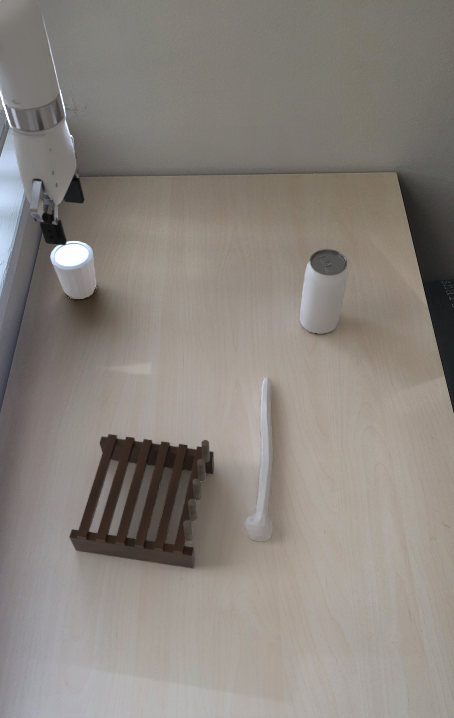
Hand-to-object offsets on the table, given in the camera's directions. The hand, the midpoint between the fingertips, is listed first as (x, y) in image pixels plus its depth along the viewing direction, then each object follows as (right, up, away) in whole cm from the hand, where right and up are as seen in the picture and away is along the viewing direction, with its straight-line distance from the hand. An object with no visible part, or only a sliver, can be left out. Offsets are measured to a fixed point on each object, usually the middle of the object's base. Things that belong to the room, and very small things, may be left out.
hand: (65, 221), depth 98 cm
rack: (+14, -44, -10) cm, 47 cm away
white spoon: (+29, -36, -5) cm, 47 cm away
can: (+40, -13, +8) cm, 43 cm away
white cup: (0, -7, +11) cm, 13 cm away
